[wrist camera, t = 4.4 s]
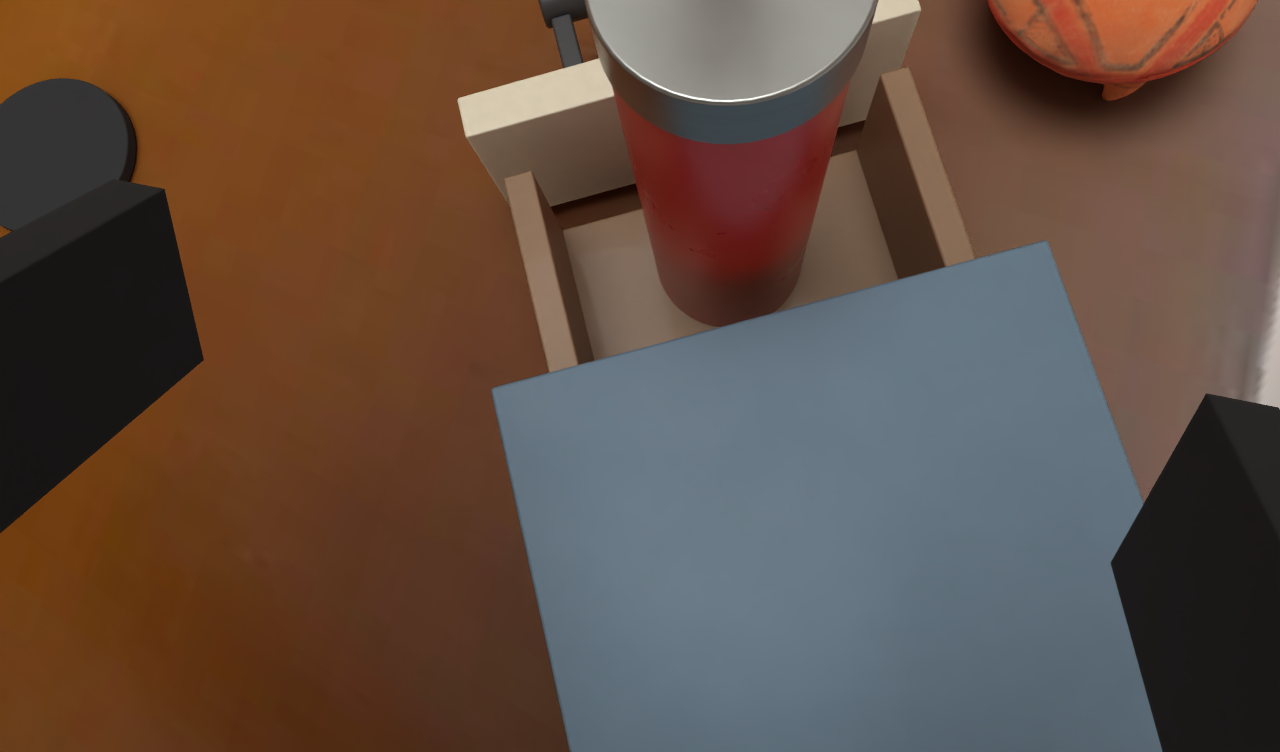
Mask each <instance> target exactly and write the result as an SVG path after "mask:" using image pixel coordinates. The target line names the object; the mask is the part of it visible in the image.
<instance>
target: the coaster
mask: <svg viewBox="0 0 1280 752" xmlns="http://www.w3.org/2000/svg"><path fill="white" fill-rule="evenodd" d="M135 156H136V142H135V135H134V130H133V127H132V124H131V122H130V119H129V117H128V116H127V114H126V112H125V110H124V109H123V108H122V107H121V105H120V104H119V103H118V102H117V101H116V100H115V99H114V98H112V97H111V96H110V95H108V94H107V93H106V92H104V91H103V90H101V89H100V88H98V87H96V86H94V85H92V84H90V83H87V82H84V81H81V80H75V79H61V78H59V79H50V80H45V81H41V82H38V83H35V84H32V85H30V86H28V87H25V88H23V89H21V90H20V91H18V92H16V93H15V94H13V95H12V96H10V97H9V98H8V99H7V100H5V101H4V102H3V103H2V104H1V105H0V225H1V226H3V227H5V228H7V229H8V230H11V231H14V230H16V229H18V228H20V227H22V226H24V225H26V224H28V223H30V222H32V221H34V220H36V219H37V218H39V217H41V216H43V215H45V214H47V213H49V212H51V211H53V210H55V209H57V208H59V207H61V206H62V205H64V204H66V203H68V202H70V201H72V200H74V199H76V198H78V197H80V196H82V195H84V194H85V193H87V192H89V191H91V190H93V189H95V188H97V187H99V186H101V185H103V184H105V183H107V182H109V181H110V180H112V179H116V180H121V181H126V182H129V180H130V177H131V174H132V171H133V168H134V162H135Z"/></svg>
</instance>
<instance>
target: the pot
mask: <svg viewBox="0 0 1280 752" xmlns="http://www.w3.org/2000/svg"><path fill="white" fill-rule="evenodd" d="M1257 1H1258V0H987V2H988V5H989V7H990V10H991V12H992V14H993V16H994V18H995V20H996V21H997V23H998V24H999V26H1000V27H1001V28H1002V30H1003V31H1004V32H1005V34H1006V35H1007V36H1008V37H1009V39H1010V40H1011V41H1012V42H1013V43H1014V44H1015V45H1016V46H1017V47H1018V48H1020V49H1021V50H1022V51H1023V52H1025V53H1026V54H1028V55H1029V56H1030V57H1031V58H1033V59H1034V60H1036V61H1037V62H1039V63H1040V64H1042V65H1044V66H1046V67H1048V68H1049V69H1051V70H1053V71H1055V72H1057V73H1059V74H1061V75H1064V76H1067V77H1070V78H1073V79H1077V80H1082V81H1087V82H1094V83H1100V84H1104V90H1103V93H1102V97H1103V98H1104V99H1105V100H1108V101H1110V100H1116V99H1119V98H1122V97H1125V96H1127V95H1129V94H1131V93H1133V92H1134V91H1136V90H1137V89H1139V88H1140V87H1141V86H1142V85H1143V84H1144V83H1145V82H1146V81H1150V80H1155V79H1159V78H1162V77H1165V76H1168V75H1171V74H1174V73H1177V72H1179V71H1181V70H1184V69H1186V68H1188V67H1190V66H1192V65H1194V64H1195V63H1197V62H1199V61H1201V60H1202V59H1204V58H1206V57H1207V56H1209V55H1211V54H1212V53H1213V52H1215V51H1216V50H1217V49H1219V48H1220V47H1221V46H1222V45H1224V44H1225V43H1226V42H1227V41H1228V40H1229V39H1230V38H1231V37H1232V36H1233V35H1235V33H1236V32H1237V31H1238V30H1239V29H1240V28H1241V27H1242V25H1243V24H1244V23H1245V21H1246V20H1247V18H1248V17H1249V15H1250V14H1251V12H1252V11H1253V9H1254V7H1255V5H1256V3H1257Z"/></svg>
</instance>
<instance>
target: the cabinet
mask: <svg viewBox="0 0 1280 752" xmlns="http://www.w3.org/2000/svg"><path fill="white" fill-rule="evenodd" d="M491 392H492V397H493V401H494V406H495V411H496V415H497V420H498V424H499V429H500V434H501V438H502V443H503V447H504V452H505V456H506V461H507V466H508V470H509V475H510V479H511V484H512V489H513V493H514V498H515V502H516V507H517V511H518V516H519V521H520V525H521V530H522V534H523V539H524V543H525V548H526V553H527V557H528V562H529V566H530V571H531V576H532V580H533V585H534V589H535V594H536V598H537V603H538V608H539V612H540V617H541V621H542V626H543V630H544V635H545V640H546V644H547V649H548V653H549V658H550V663H551V667H552V672H553V676H554V681H555V685H556V690H557V695H558V699H559V704H560V708H561V713H562V717H563V722H564V727H565V731H566V736H567V740H568V745H569V750H570V752H1162V748H1161V744H1160V741H1159V737H1158V734H1157V730H1156V726H1155V723H1154V719H1153V715H1152V712H1151V708H1150V705H1149V701H1148V697H1147V694H1146V690H1145V686H1144V683H1143V679H1142V676H1141V672H1140V668H1139V665H1138V661H1137V657H1136V654H1135V650H1134V646H1133V643H1132V639H1131V636H1130V632H1129V628H1128V625H1127V621H1126V617H1125V614H1124V610H1123V607H1122V603H1121V599H1120V596H1119V592H1118V588H1117V585H1116V581H1115V578H1114V574H1113V570H1112V567H1111V561H1112V559H1113V557H1114V556H1115V554H1116V552H1117V550H1118V549H1119V547H1120V545H1121V543H1122V541H1123V540H1124V538H1125V536H1126V534H1127V533H1128V531H1129V529H1130V527H1131V526H1132V524H1133V522H1134V520H1135V518H1136V517H1137V515H1138V513H1139V511H1140V510H1141V508H1142V506H1143V504H1144V503H1143V500H1142V497H1141V494H1140V492H1139V489H1138V486H1137V484H1136V481H1135V478H1134V475H1133V473H1132V470H1131V467H1130V465H1129V462H1128V459H1127V456H1126V454H1125V451H1124V448H1123V446H1122V443H1121V440H1120V437H1119V435H1118V432H1117V429H1116V426H1115V424H1114V421H1113V418H1112V416H1111V413H1110V410H1109V407H1108V405H1107V402H1106V399H1105V397H1104V394H1103V391H1102V388H1101V386H1100V383H1099V380H1098V377H1097V375H1096V372H1095V369H1094V367H1093V364H1092V361H1091V358H1090V356H1089V353H1088V350H1087V348H1086V345H1085V342H1084V339H1083V337H1082V334H1081V331H1080V328H1079V326H1078V323H1077V320H1076V318H1075V315H1074V312H1073V309H1072V307H1071V304H1070V301H1069V299H1068V296H1067V293H1066V290H1065V288H1064V285H1063V282H1062V279H1061V277H1060V274H1059V271H1058V269H1057V266H1056V263H1055V260H1054V258H1053V255H1052V252H1051V250H1050V247H1049V244H1048V242H1047V241H1040V242H1037V243H1033V244H1029V245H1025V246H1022V247H1018V248H1014V249H1010V250H1007V251H1003V252H999V253H996V254H992V255H988V256H984V257H981V258H977V259H973V260H969V261H966V262H962V263H958V264H954V265H951V266H947V267H943V268H939V269H936V270H932V271H928V272H924V273H921V274H917V275H913V276H909V277H906V278H902V279H898V280H894V281H891V282H887V283H883V284H879V285H876V286H872V287H868V288H864V289H861V290H857V291H853V292H849V293H846V294H842V295H838V296H834V297H831V298H827V299H823V300H819V301H816V302H812V303H808V304H804V305H801V306H797V307H793V308H789V309H786V310H782V311H778V312H774V313H771V314H767V315H763V316H760V317H756V318H752V319H748V320H745V321H741V322H737V323H733V324H730V325H726V326H722V327H718V328H715V329H711V330H707V331H703V332H700V333H696V334H692V335H688V336H685V337H681V338H677V339H673V340H670V341H666V342H662V343H658V344H655V345H651V346H647V347H643V348H640V349H636V350H632V351H628V352H625V353H621V354H617V355H613V356H610V357H606V358H602V359H598V360H595V361H591V362H587V363H583V364H580V365H576V366H572V367H568V368H565V369H561V370H557V371H553V372H550V373H546V374H542V375H538V376H535V377H531V378H527V379H524V380H520V381H516V382H512V383H509V384H505V385H501V386H497V387H494V388H492V391H491Z"/></svg>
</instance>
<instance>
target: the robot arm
mask: <svg viewBox="0 0 1280 752" xmlns="http://www.w3.org/2000/svg"><path fill="white" fill-rule="evenodd" d="M203 360H204V359H203V355H202V350H201V346H200V342H199V337H198V333H197V329H196V324H195V320H194V316H193V311H192V307H191V302H190V298H189V294H188V289H187V285H186V281H185V276H184V272H183V268H182V263H181V259H180V255H179V250H178V246H177V241H176V237H175V233H174V228H173V224H172V220H171V215H170V211H169V207H168V202H167V198H166V194H165V189H162V188H156V187H151V186H146V185H141V184H136V183H131V182H126V181H121V180H116V179H112V180H110V181H109V182H107V183H105V184H103V185H101V186H99V187H97V188H95V189H93V190H91V191H89V192H87V193H85V194H84V195H82V196H80V197H78V198H76V199H74V200H72V201H70V202H68V203H66V204H64V205H62V206H61V207H59V208H57V209H55V210H53V211H51V212H49V213H47V214H45V215H43V216H41V217H39V218H37V219H36V220H34V221H32V222H30V223H28V224H26V225H24V226H22V227H20V228H18V229H16V230H14V231H12V232H11V233H9V234H7V235H5V236H3V237H1V238H0V533H1V532H2V531H3V530H5V529H6V528H7V527H8V526H9V525H10V524H12V523H13V522H14V521H15V520H16V519H17V518H19V517H20V516H21V515H22V514H23V513H24V512H26V511H27V510H28V509H29V508H30V507H32V506H33V505H34V504H35V503H36V502H37V501H39V500H40V499H41V498H42V497H43V496H44V495H46V494H47V493H48V492H49V491H50V490H51V489H53V488H54V487H55V486H56V485H57V484H59V483H60V482H61V481H62V480H63V479H64V478H66V477H67V476H68V475H69V474H70V473H71V472H73V471H74V470H75V469H76V468H77V467H79V466H80V465H81V464H82V463H83V462H84V461H86V460H87V459H88V458H89V457H90V456H91V455H93V454H94V453H95V452H96V451H97V450H98V449H100V448H101V447H102V446H103V445H104V444H106V443H107V442H108V441H109V440H110V439H111V438H113V437H114V436H115V435H116V434H117V433H118V432H120V431H121V430H122V429H123V428H124V427H125V426H127V425H128V424H129V423H130V422H131V421H133V420H134V419H135V418H136V417H137V416H138V415H140V414H141V413H142V412H143V411H144V410H145V409H147V408H148V407H149V406H150V405H151V404H152V403H154V402H155V401H156V400H157V399H158V398H160V397H161V396H162V395H163V394H164V393H165V392H167V391H168V390H169V389H170V388H171V387H172V386H174V385H175V384H176V383H177V382H178V381H180V380H181V379H182V378H183V377H184V376H185V375H187V374H188V373H189V372H190V371H191V370H192V369H194V368H195V367H196V366H197V365H198V364H199V363H201V362H202V361H203ZM1111 567H1112V570H1113V574H1114V578H1115V581H1116V585H1117V588H1118V592H1119V596H1120V599H1121V603H1122V607H1123V610H1124V614H1125V617H1126V621H1127V625H1128V628H1129V632H1130V636H1131V639H1132V643H1133V646H1134V650H1135V654H1136V657H1137V661H1138V665H1139V668H1140V672H1141V676H1142V679H1143V683H1144V686H1145V690H1146V694H1147V697H1148V701H1149V705H1150V708H1151V712H1152V715H1153V719H1154V723H1155V726H1156V730H1157V734H1158V737H1159V741H1160V744H1161V748H1162V752H1280V409H1279V408H1278V407H1273V406H1267V405H1262V404H1257V403H1252V402H1247V401H1242V400H1237V399H1232V398H1227V397H1222V396H1217V395H1211V394H1206V395H1205V397H1204V398H1203V400H1202V402H1201V404H1200V405H1199V407H1198V409H1197V411H1196V413H1195V414H1194V416H1193V418H1192V420H1191V421H1190V423H1189V425H1188V427H1187V428H1186V430H1185V432H1184V434H1183V435H1182V437H1181V439H1180V441H1179V443H1178V444H1177V446H1176V448H1175V450H1174V451H1173V453H1172V455H1171V457H1170V458H1169V460H1168V462H1167V464H1166V466H1165V467H1164V469H1163V471H1162V473H1161V474H1160V476H1159V478H1158V480H1157V481H1156V483H1155V485H1154V487H1153V488H1152V490H1151V492H1150V494H1149V496H1148V497H1147V499H1146V501H1145V503H1144V504H1143V506H1142V508H1141V510H1140V511H1139V513H1138V515H1137V517H1136V518H1135V520H1134V522H1133V524H1132V526H1131V527H1130V529H1129V531H1128V533H1127V534H1126V536H1125V538H1124V540H1123V541H1122V543H1121V545H1120V547H1119V549H1118V550H1117V552H1116V554H1115V556H1114V557H1113V559H1112V561H1111Z"/></svg>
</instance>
